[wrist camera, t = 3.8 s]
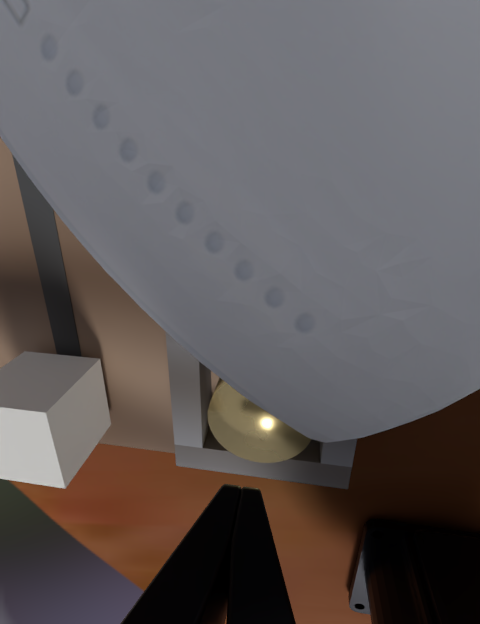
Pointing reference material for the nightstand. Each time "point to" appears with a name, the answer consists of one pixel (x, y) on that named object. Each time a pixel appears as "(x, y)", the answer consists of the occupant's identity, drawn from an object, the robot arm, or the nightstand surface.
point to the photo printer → (271, 186)
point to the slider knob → (50, 416)
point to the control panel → (120, 344)
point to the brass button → (251, 428)
